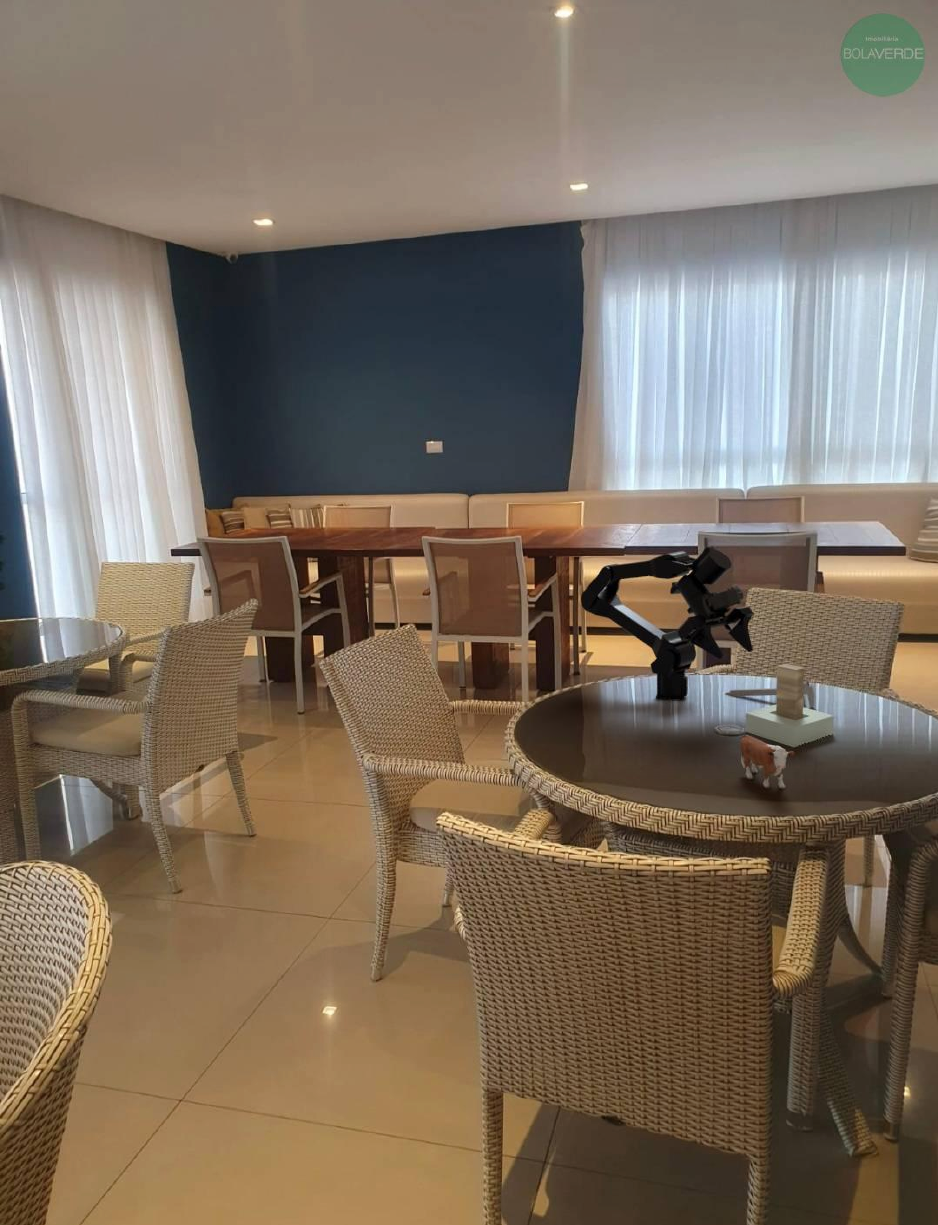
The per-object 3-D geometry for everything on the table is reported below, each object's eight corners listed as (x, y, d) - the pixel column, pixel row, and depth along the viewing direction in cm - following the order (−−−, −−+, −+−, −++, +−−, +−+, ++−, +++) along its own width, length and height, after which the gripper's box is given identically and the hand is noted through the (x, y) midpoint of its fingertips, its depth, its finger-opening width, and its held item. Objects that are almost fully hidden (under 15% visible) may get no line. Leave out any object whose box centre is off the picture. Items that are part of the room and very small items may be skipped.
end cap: (793, 747, 170) (794, 727, 169) (745, 731, 180) (745, 713, 180) (833, 734, 176) (833, 715, 176) (783, 719, 186) (784, 701, 186)
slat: (794, 732, 176) (796, 670, 173) (775, 726, 179) (777, 665, 177) (802, 729, 177) (804, 667, 174) (783, 724, 181) (785, 663, 178)
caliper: (814, 708, 194) (815, 681, 193) (812, 709, 193) (813, 682, 192) (726, 694, 207) (727, 668, 206) (724, 695, 206) (725, 669, 205)
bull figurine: (776, 799, 147) (777, 753, 145) (734, 771, 160) (735, 728, 158) (799, 796, 148) (800, 750, 146) (756, 768, 161) (757, 726, 159)
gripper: (687, 580, 185) (727, 639, 178) (748, 570, 195) (787, 626, 187) (661, 611, 193) (698, 669, 186) (720, 600, 203) (757, 655, 196)
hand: (736, 654), depth 189 cm, fingers open, 9 cm apart
